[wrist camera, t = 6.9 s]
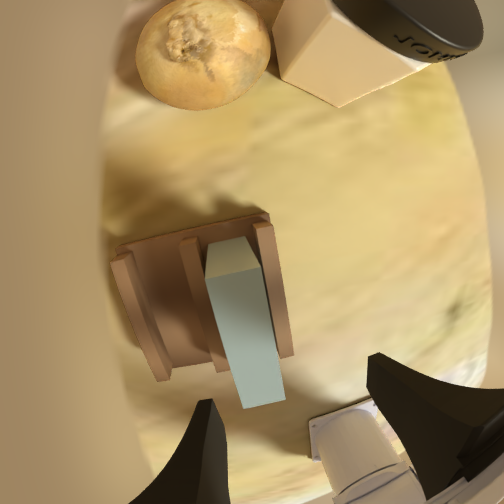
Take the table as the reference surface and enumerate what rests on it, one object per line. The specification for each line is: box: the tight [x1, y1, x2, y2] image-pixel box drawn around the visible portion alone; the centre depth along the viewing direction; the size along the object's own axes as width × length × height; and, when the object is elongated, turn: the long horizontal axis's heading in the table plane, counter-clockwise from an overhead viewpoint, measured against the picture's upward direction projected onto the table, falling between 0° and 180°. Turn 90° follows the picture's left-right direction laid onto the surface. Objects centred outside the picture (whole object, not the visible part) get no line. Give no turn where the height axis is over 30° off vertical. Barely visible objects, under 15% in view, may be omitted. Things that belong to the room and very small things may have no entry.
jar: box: [272, 0, 483, 108], centre depth 11 cm, size 9×8×12 cm
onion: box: [135, 0, 271, 110], centre depth 12 cm, size 8×8×7 cm
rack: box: [110, 212, 294, 382], centre depth 18 cm, size 10×10×3 cm
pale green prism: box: [205, 236, 286, 409], centre depth 16 cm, size 8×2×6 cm, turn 11°
